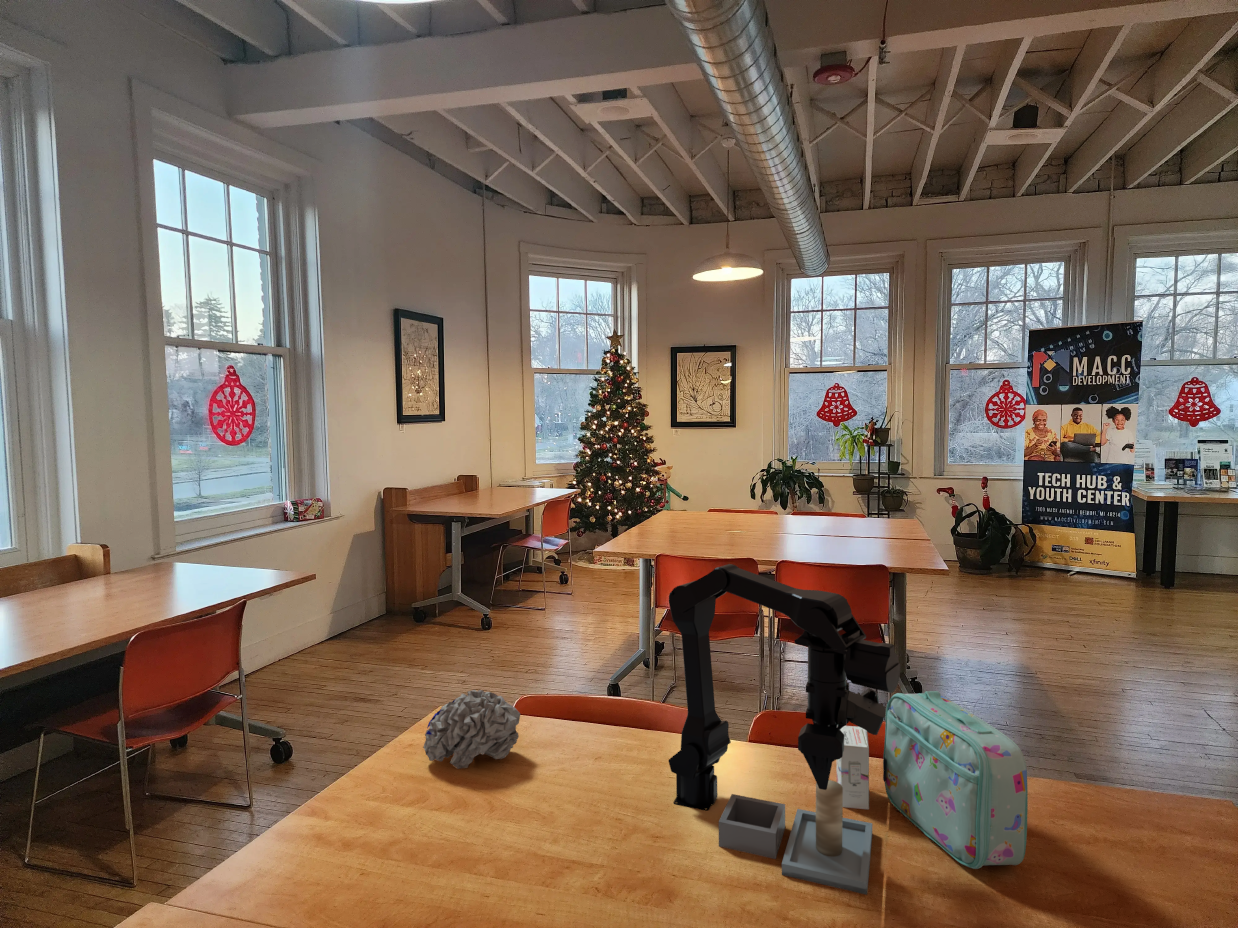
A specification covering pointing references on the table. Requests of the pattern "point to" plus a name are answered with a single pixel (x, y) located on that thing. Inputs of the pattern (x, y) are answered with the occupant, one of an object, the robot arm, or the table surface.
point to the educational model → (472, 729)
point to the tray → (828, 870)
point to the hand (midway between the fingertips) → (826, 774)
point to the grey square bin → (752, 826)
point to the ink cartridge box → (854, 768)
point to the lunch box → (956, 779)
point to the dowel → (829, 819)
